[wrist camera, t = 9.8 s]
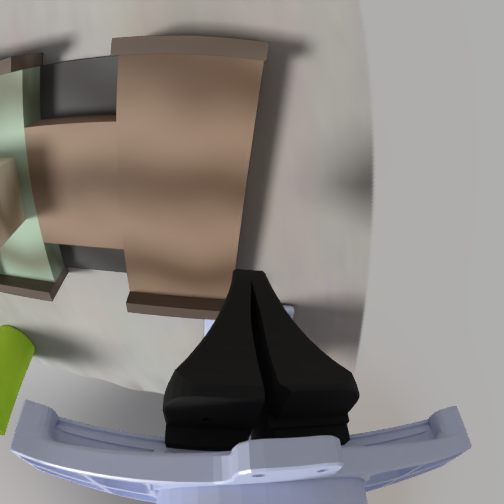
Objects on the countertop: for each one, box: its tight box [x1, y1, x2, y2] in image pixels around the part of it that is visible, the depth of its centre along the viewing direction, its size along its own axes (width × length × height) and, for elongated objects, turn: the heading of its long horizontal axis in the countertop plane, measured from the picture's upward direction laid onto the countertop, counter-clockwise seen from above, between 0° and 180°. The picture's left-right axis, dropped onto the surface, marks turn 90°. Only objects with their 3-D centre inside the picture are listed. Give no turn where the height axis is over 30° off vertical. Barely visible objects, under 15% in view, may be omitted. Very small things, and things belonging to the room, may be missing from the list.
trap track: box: [0, 35, 269, 320], centre depth 18 cm, size 19×23×4 cm
